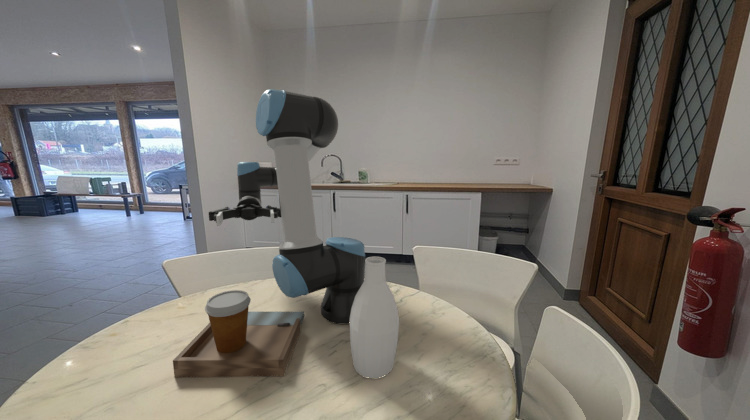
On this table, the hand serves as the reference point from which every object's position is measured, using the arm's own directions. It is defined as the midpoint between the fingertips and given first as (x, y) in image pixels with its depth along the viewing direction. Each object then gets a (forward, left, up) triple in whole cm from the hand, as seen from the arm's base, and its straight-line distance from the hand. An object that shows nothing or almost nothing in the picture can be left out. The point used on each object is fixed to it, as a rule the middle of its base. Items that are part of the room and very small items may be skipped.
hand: (246, 219), depth 76 cm
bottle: (-35, +19, -30) cm, 50 cm away
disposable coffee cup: (-1, +14, -28) cm, 31 cm away
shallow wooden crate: (-4, +10, -30) cm, 32 cm away
